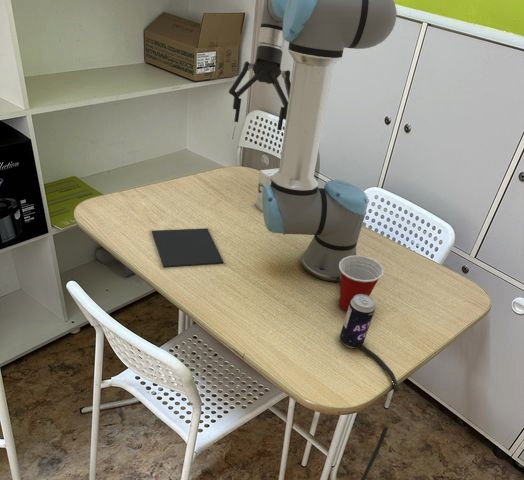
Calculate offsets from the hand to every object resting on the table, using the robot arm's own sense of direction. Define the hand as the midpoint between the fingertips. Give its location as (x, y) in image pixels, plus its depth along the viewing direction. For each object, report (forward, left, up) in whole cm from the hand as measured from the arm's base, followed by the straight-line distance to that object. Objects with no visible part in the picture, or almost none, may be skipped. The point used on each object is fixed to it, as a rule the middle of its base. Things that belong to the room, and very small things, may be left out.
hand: (257, 126), depth 159 cm
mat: (-32, +28, -22) cm, 48 cm away
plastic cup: (-64, -7, -22) cm, 68 cm away
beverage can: (-77, -1, -22) cm, 80 cm away
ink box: (-10, -4, -22) cm, 24 cm away
